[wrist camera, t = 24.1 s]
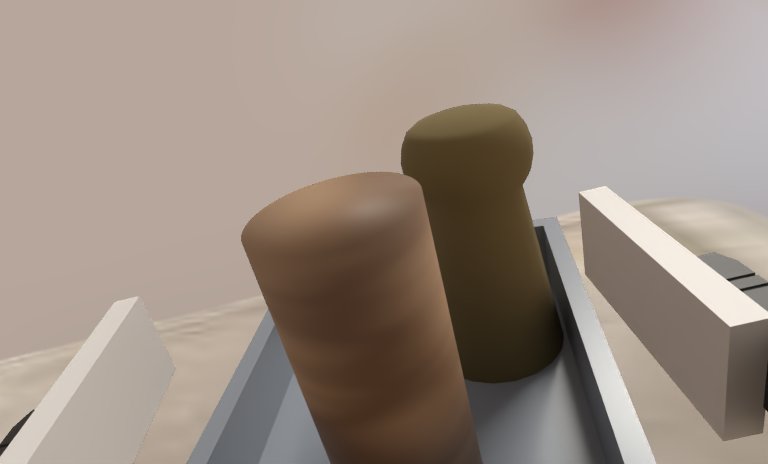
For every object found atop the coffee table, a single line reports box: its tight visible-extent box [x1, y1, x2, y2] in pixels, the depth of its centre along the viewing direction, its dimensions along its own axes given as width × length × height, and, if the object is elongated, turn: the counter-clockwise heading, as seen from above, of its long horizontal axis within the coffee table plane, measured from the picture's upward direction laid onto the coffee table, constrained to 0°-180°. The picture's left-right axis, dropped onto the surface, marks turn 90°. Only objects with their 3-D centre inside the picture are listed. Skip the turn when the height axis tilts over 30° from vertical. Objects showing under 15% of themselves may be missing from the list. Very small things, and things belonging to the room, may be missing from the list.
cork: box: [401, 104, 564, 384], centre depth 23 cm, size 6×6×11 cm
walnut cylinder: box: [241, 172, 483, 464], centre depth 17 cm, size 5×5×11 cm
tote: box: [187, 217, 656, 464], centre depth 23 cm, size 15×18×4 cm
